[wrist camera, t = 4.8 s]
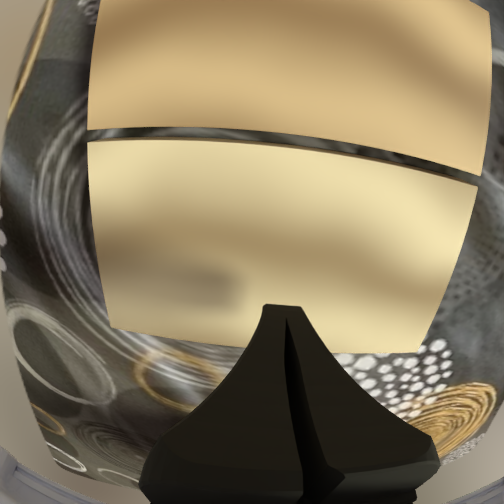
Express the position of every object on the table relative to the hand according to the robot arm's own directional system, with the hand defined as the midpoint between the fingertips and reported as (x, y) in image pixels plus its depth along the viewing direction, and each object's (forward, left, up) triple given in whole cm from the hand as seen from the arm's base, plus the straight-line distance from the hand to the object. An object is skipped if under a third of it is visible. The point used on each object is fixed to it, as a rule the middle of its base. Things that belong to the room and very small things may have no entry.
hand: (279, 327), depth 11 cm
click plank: (+2, 0, -4) cm, 4 cm away
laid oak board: (+10, 0, -3) cm, 11 cm away
